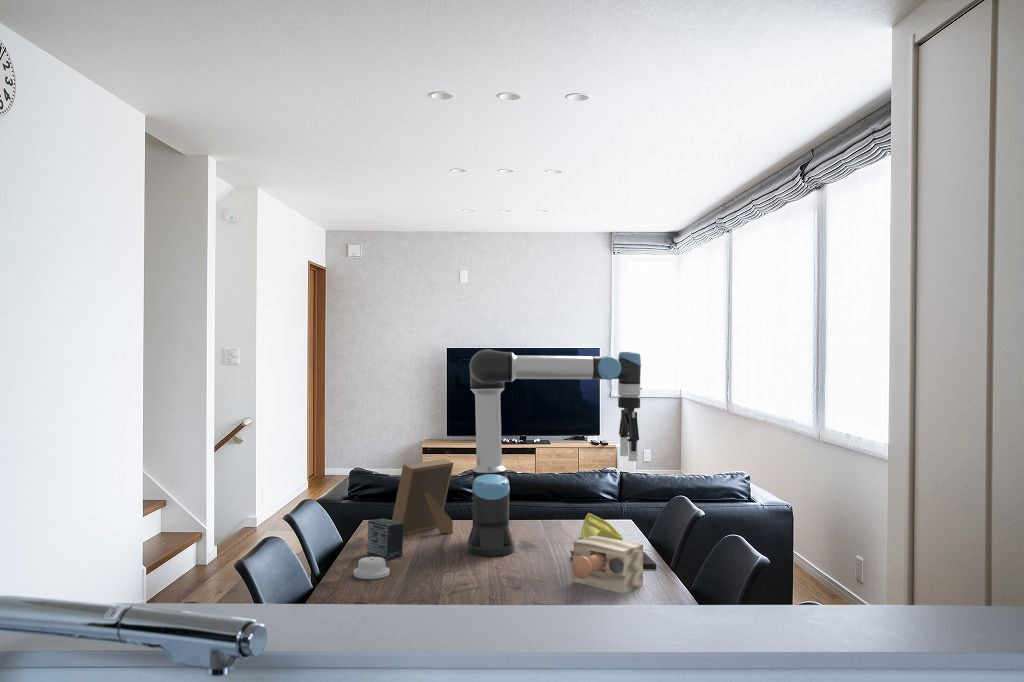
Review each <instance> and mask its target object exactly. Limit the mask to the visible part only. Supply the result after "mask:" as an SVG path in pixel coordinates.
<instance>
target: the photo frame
mask: <svg viewBox="0 0 1024 682" xmlns="http://www.w3.org/2000/svg"><path fill="white" fill-rule="evenodd" d="M453 467H454V462H453V461H451V460H449V459H447V458H441V459H440V458H439V459H433V460H428V461H425V460H424V461H418V462H414V463H413V462H410V463H406V464H405V463H404V464H402V469H401V474H400V478H399V485H398V489H397V493H396V499H395V502H394V503H395V504H394V506H393V507H394V508H393V512H392V519H391V520H392V521H397V522H401V523H403V537H405V536H409V535H412V534H415V533H421V532H424V530H425V531H428V530H427V529H429V530H431V528H433V529H435V527H437V528H438V531H439V533H446V534H451V533H450V532H453V533H454V531H453V528H454V527H453V519H452V518H451V517H450V516H449V515H448V514H447V512H446V511H445V506H446V501H447V495H448V492H449V488H450V487H449V486H450V482H451V478H452V477H451V476H452V472H453Z"/></svg>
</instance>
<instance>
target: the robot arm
mask: <svg viewBox="0 0 1024 682" xmlns="http://www.w3.org/2000/svg"><path fill="white" fill-rule="evenodd" d="M641 361H642V360H641V354H640V352H639V351H620V352H619V353H618V356H616V357H615V356H612V355H605V356H602V355H600V356H599V355H598V356H594V355H593V356H592V355H591V356H589V355H588V356H587V355H586V356H585V355H515V354H514V352H513V351H511V352H510V351H499V350H498V351H497V350H493V349H490V348H488V349H487V348H486V349H481V350H478V351H477V352H476V353H474V355H473V356H472V357H471V359H470V361H469V368H468V369H469V378H470V379H469V380H470V381H469V382H470V383H469V384H470V385H469V386H470V391H472V393H473V394H474V397H475V398H474V401H475V408H474V409H475V436H476V437H475V441H476V442H475V443H476V444H475V445H476V447H475V448H476V465H475V466H474V467H473V468H472V527H471V529H470V533H469V537H468V539H467V542H466V551H467V553H469V554H472V555H474V556H481V557H500V556H499V555H502V556H506V555H510V554H513V553H514V552H513V551H515V543H514V539H513V537H512V532H511V529H510V525H509V524H510V491H511V490H510V481H509V479H508V477H507V476H508V475H507V467H505V466H504V464H503V461H502V460H503V456H502V455H503V453H502V451H503V449H502V416H501V415H502V414H501V413H502V411H501V409H502V408H501V393H502V392H503V391H504V390H505V383H506V382H507V383H509V382H511V383H513V382H514V381H515V380H517V379H518V380H534V379H535V380H547V379H548V380H607V381H611V380H618V382H617V386H618V387H617V395H618V398H617V406H618V408H619V409H621V410H620V423H619V429H618V435H619V437H620V440H619V443H620V445H619V457H628V462H638V441H639V440H640V435H639V434H640V433H639V424H638V423H639V422H638V411H635V409H640V407H641V398H640V396H641V391H642V389H643V387H641V373H642V372H641V369H642V368H641V367H642V363H641Z"/></svg>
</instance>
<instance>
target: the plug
mask: <svg viewBox="0 0 1024 682" xmlns="http://www.w3.org/2000/svg"><path fill="white" fill-rule="evenodd" d="M570 565H571V567H570V569H571V571H572V574H574V575H575V576H576V577H577V578H580V579H583V578H586V577H588V576H590V574H591V573H592V572H593V571H596V570H598V569H601V568H604V567H606V553H601V552H600V553H597V554H594V555H591V556H588V557H586V556H578V557H575V558H574V559H572V560H571V564H570Z"/></svg>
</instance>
